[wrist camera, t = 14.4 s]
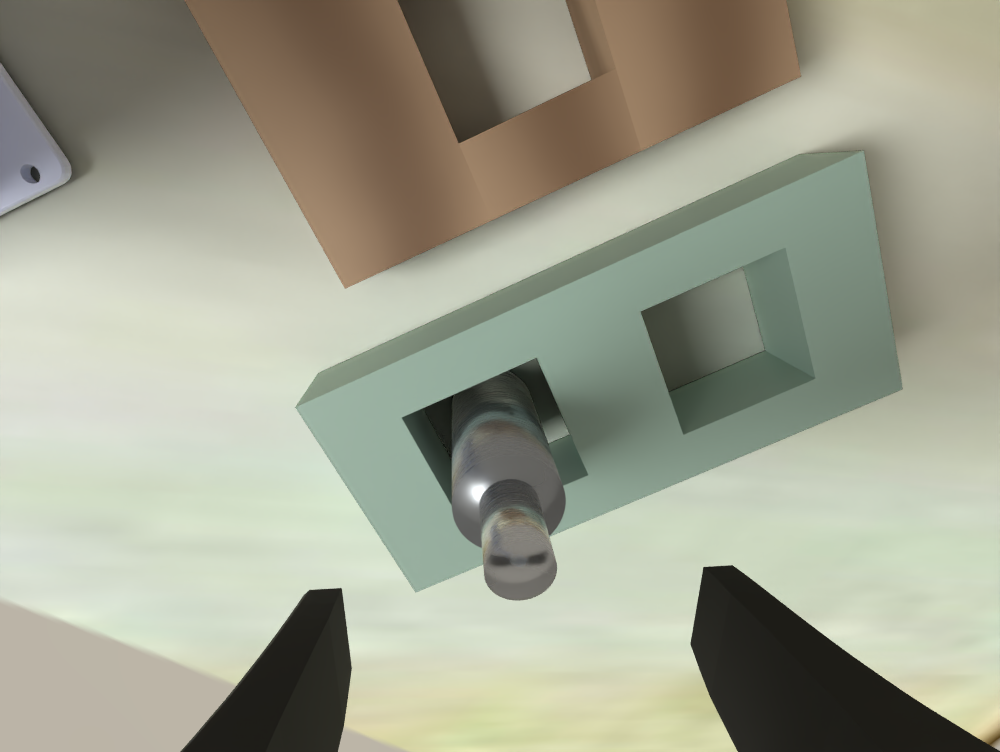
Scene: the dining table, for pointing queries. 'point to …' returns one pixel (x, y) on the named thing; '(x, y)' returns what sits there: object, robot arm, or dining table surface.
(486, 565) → the grey stepped cylinder
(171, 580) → the dining table surface
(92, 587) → the dining table surface
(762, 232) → the drill rack
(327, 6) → the socket block
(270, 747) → the robot arm
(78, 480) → the dining table surface
